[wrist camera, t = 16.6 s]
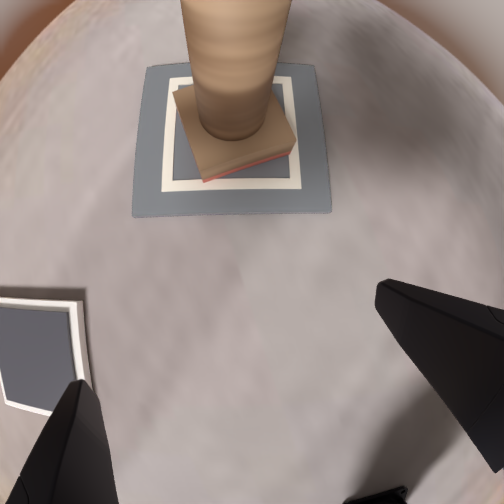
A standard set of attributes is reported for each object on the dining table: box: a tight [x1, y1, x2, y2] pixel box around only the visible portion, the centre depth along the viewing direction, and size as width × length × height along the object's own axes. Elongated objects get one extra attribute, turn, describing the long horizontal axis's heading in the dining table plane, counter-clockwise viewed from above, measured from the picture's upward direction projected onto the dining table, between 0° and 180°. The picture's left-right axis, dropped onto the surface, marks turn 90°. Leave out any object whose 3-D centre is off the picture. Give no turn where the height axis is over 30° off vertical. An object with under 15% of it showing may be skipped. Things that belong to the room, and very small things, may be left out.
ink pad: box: [0, 297, 93, 416], centre depth 17 cm, size 9×9×1 cm
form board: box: [132, 63, 332, 218], centre depth 20 cm, size 13×12×1 cm
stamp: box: [172, 0, 297, 183], centre depth 13 cm, size 6×6×13 cm
